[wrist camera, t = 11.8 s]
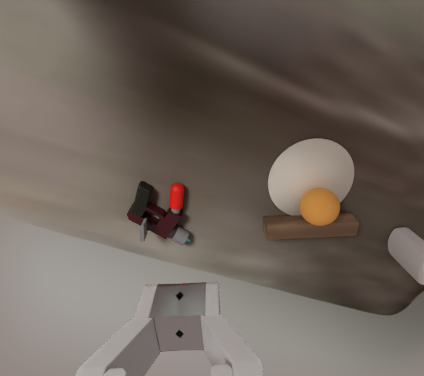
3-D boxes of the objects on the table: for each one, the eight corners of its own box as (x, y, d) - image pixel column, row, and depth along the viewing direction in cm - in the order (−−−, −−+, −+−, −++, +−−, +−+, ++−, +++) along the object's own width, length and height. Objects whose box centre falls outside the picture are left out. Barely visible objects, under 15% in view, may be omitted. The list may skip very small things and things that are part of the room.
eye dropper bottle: (418, 231, 44) (486, 284, 33) (397, 255, 46) (454, 313, 36) (397, 222, 44) (460, 274, 33) (376, 248, 46) (428, 304, 35)
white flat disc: (269, 140, 38) (269, 141, 38) (360, 135, 38) (361, 136, 37) (266, 218, 43) (266, 219, 43) (346, 214, 43) (347, 215, 43)
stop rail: (263, 216, 43) (267, 226, 40) (350, 212, 43) (359, 221, 40) (263, 229, 44) (266, 239, 41) (347, 225, 44) (356, 235, 41)
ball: (304, 187, 37) (309, 228, 36) (344, 184, 37) (350, 224, 36) (292, 191, 42) (296, 226, 42) (327, 188, 42) (331, 223, 42)
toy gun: (186, 244, 46) (183, 262, 41) (123, 210, 43) (113, 226, 38) (217, 202, 42) (218, 218, 38) (151, 163, 40) (144, 175, 35)
